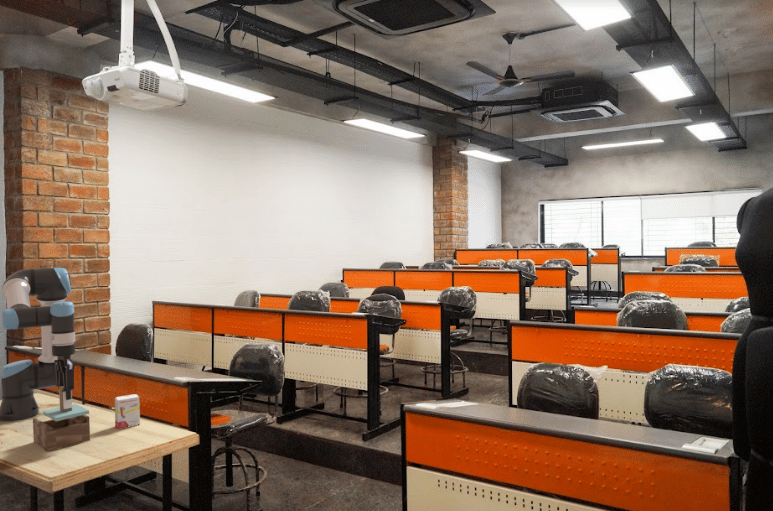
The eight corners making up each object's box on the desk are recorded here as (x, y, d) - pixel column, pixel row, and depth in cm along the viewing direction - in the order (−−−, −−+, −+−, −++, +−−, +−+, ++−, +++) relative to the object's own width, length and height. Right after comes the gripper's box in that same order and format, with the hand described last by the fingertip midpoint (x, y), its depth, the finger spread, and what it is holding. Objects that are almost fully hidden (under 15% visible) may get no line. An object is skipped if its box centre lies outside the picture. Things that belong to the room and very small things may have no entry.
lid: (43, 414, 210) (42, 386, 210) (75, 407, 219) (74, 380, 218) (55, 421, 202) (54, 392, 201) (89, 413, 210) (88, 386, 210)
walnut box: (33, 442, 214) (32, 418, 214) (74, 432, 224) (74, 409, 224) (47, 451, 204) (46, 426, 204) (90, 440, 215) (89, 416, 214)
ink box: (117, 429, 226) (116, 400, 226) (115, 426, 230) (114, 397, 230) (140, 424, 232) (139, 396, 231) (137, 422, 236) (136, 393, 235)
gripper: (44, 343, 212) (47, 405, 213) (60, 348, 201) (62, 413, 202) (66, 340, 218) (68, 401, 218) (83, 344, 207) (85, 408, 208)
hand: (66, 407), depth 210 cm, fingers closed on lid, 3 cm apart
